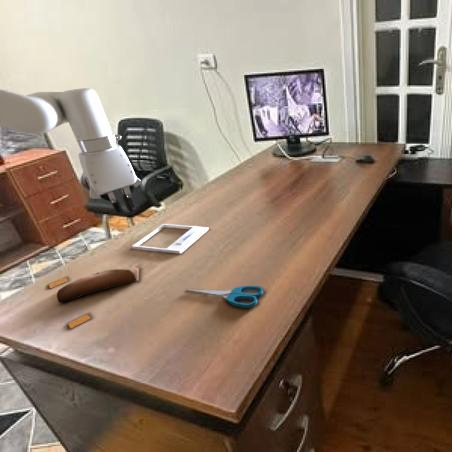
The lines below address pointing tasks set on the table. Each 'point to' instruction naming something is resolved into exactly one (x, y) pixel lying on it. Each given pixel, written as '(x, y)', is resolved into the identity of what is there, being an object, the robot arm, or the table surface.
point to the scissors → (236, 295)
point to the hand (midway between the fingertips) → (126, 212)
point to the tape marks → (77, 321)
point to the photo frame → (178, 244)
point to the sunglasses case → (97, 283)
